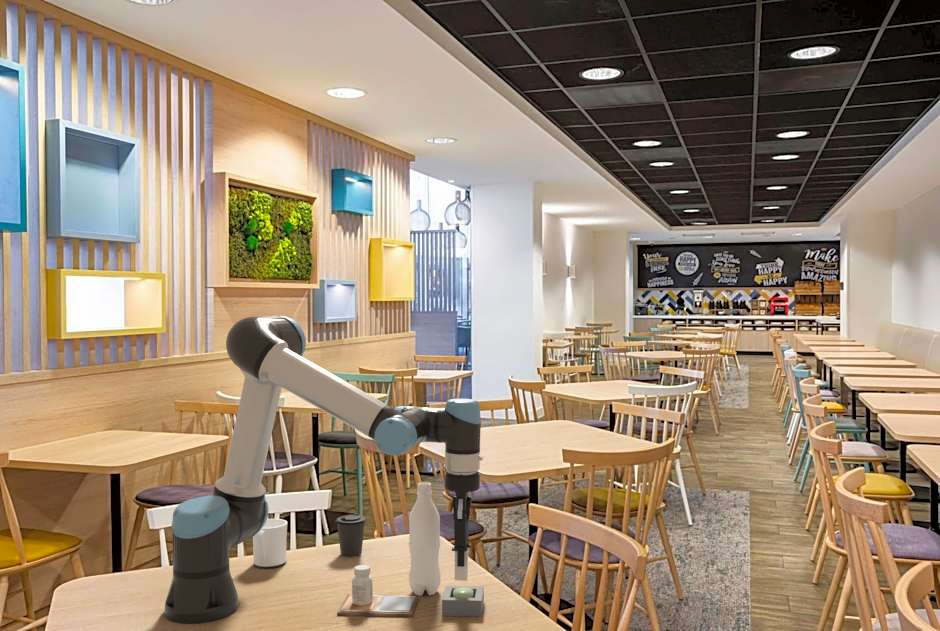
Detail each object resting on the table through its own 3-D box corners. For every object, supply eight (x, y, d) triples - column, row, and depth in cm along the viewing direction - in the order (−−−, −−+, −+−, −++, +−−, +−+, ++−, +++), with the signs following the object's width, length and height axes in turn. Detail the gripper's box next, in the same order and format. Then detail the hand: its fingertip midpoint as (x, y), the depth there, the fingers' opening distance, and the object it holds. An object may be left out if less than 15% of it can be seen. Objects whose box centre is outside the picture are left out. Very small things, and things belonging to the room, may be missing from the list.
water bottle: (436, 598, 183) (435, 487, 183) (405, 596, 185) (404, 486, 184) (443, 587, 190) (443, 480, 190) (413, 585, 192) (413, 479, 191)
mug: (260, 557, 213) (259, 518, 213) (293, 558, 212) (292, 519, 212) (242, 571, 202) (242, 530, 202) (277, 573, 201) (276, 531, 201)
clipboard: (337, 615, 174) (337, 611, 174) (347, 597, 185) (347, 593, 185) (411, 616, 173) (411, 612, 173) (418, 598, 183) (418, 594, 183)
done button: (452, 607, 175) (452, 594, 175) (454, 600, 180) (454, 587, 180) (472, 608, 175) (472, 595, 175) (474, 600, 180) (474, 587, 179)
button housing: (442, 615, 174) (441, 599, 174) (446, 601, 182) (445, 585, 182) (481, 616, 173) (481, 600, 173) (483, 601, 181) (483, 586, 181)
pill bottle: (364, 597, 182) (364, 562, 182) (376, 602, 179) (376, 567, 179) (348, 602, 179) (347, 567, 179) (360, 607, 176) (360, 572, 176)
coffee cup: (331, 558, 212) (330, 519, 212) (341, 548, 220) (340, 511, 220) (361, 559, 211) (361, 520, 211) (370, 549, 219) (370, 512, 219)
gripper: (477, 478, 170) (476, 590, 171) (481, 465, 183) (480, 569, 184) (442, 477, 171) (440, 589, 171) (448, 464, 184) (446, 568, 184)
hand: (461, 579), depth 178 cm, fingers closed
